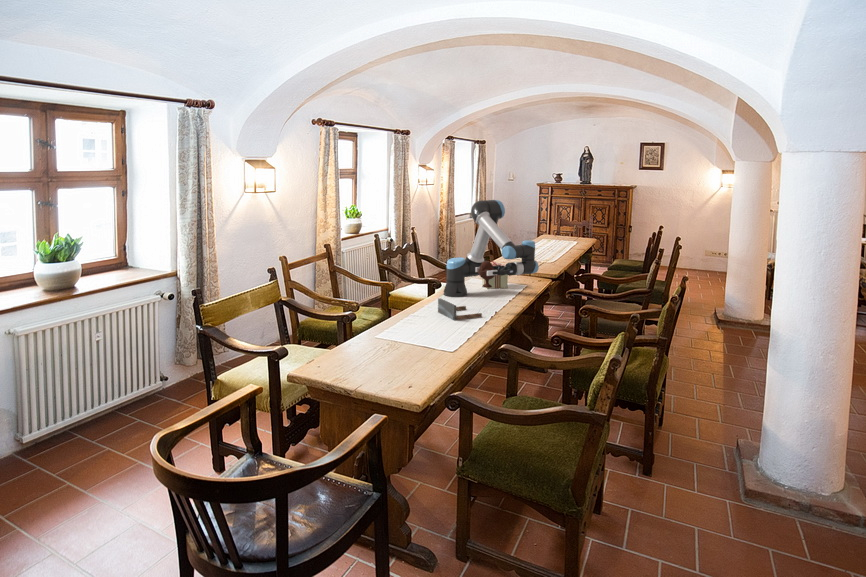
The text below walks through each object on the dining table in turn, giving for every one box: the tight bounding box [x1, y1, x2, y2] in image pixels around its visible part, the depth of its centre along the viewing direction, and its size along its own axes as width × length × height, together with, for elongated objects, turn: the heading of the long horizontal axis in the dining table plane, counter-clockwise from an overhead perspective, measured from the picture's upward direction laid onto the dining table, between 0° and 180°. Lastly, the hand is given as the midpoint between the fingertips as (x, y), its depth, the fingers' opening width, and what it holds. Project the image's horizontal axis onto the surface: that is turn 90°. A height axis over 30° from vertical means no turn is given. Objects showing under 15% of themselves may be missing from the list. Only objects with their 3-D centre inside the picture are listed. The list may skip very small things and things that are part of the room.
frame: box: [437, 297, 483, 321], centre depth 333 cm, size 17×19×8 cm
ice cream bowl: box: [478, 260, 495, 289], centre depth 336 cm, size 11×11×15 cm
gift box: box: [481, 260, 509, 290], centre depth 407 cm, size 17×18×17 cm
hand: (481, 271), depth 333 cm, fingers closed on ice cream bowl, 11 cm apart
